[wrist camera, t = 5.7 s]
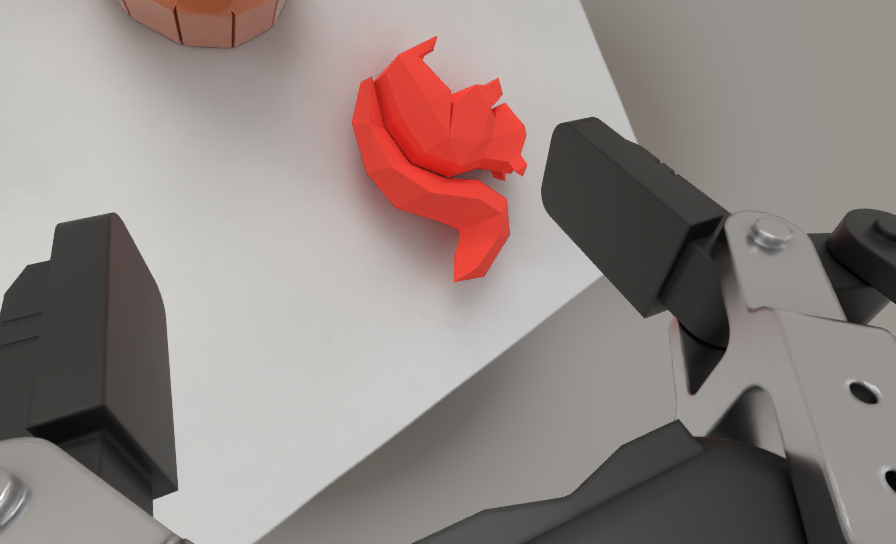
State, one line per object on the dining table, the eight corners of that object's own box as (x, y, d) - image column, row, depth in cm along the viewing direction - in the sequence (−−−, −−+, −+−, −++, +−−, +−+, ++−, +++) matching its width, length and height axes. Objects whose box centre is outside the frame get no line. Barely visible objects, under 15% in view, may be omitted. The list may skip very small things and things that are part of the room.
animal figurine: (432, 300, 36) (463, 308, 31) (316, 112, 32) (331, 89, 28) (545, 217, 40) (587, 213, 35) (452, 38, 36) (486, 8, 31)
